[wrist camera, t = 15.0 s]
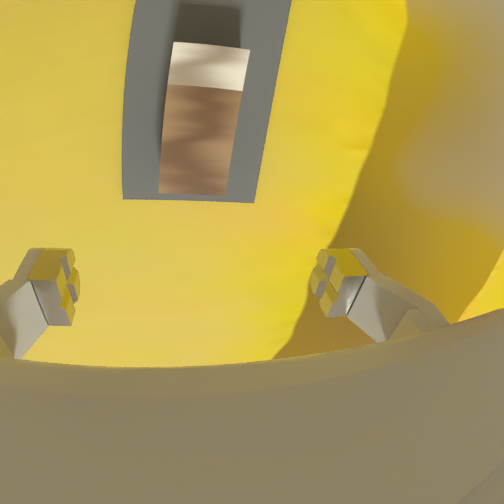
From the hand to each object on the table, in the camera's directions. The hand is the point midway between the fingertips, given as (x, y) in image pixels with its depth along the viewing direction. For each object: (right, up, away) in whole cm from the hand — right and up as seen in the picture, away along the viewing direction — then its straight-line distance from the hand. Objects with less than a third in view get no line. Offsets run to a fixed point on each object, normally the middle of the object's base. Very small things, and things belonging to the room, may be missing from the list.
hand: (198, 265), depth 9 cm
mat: (-3, +13, +12) cm, 18 cm away
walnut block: (-3, +6, +14) cm, 15 cm away
